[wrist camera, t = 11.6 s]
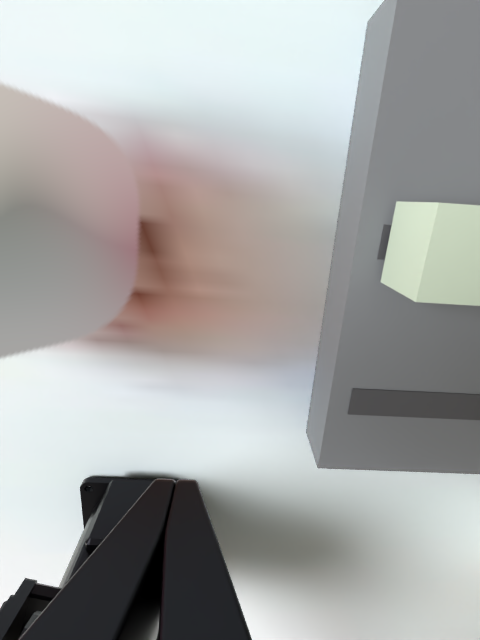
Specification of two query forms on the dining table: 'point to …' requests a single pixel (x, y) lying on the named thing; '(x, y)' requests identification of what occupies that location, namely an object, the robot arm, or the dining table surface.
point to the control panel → (371, 245)
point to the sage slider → (434, 253)
